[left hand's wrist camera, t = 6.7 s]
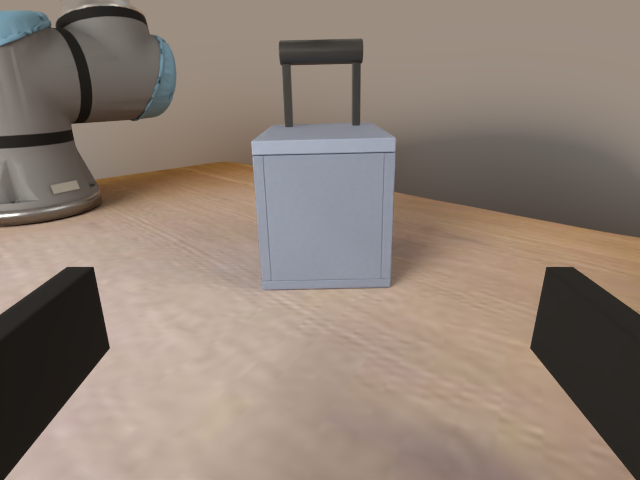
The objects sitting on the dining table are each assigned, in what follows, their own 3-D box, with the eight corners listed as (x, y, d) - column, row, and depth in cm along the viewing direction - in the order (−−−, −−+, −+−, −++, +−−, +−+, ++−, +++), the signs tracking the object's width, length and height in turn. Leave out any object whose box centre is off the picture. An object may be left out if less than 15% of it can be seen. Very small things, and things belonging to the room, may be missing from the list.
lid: (273, 134, 42) (268, 44, 39) (371, 132, 41) (373, 41, 39) (252, 155, 28) (241, 20, 26) (395, 152, 28) (400, 16, 26)
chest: (278, 233, 44) (272, 135, 41) (370, 231, 44) (372, 133, 41) (262, 290, 32) (252, 156, 28) (390, 287, 32) (395, 152, 28)
